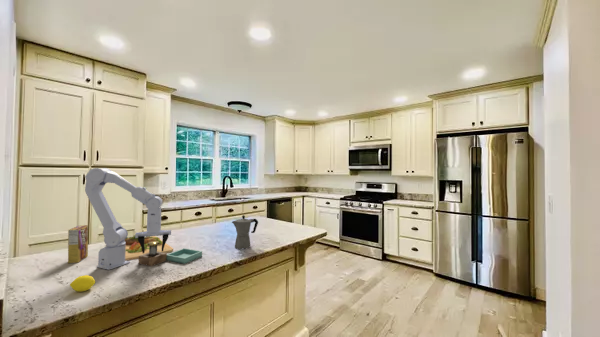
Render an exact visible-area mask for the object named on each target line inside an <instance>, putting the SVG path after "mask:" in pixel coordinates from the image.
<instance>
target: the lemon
mask: <svg viewBox="0 0 600 337" xmlns="http://www.w3.org/2000/svg"><path fill="white" fill-rule="evenodd" d="M95 283H96V280H95V279H94V277H93V276H91V275H88V274H85V275H80V276H77V277H76V278H75V279H74V280H72V281H71V282H70V283H69V286H70V288H72V289H73V290H74V291H75V292H81V293H82V292H83V293H84V292H86V291H88V290H90V289H91V288H92V287H93V286H94V285H95Z"/></svg>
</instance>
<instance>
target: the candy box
mask: <svg viewBox="0 0 600 337" xmlns="http://www.w3.org/2000/svg"><path fill="white" fill-rule="evenodd" d="M88 226H89V225H85V224H83V225H76V226H75V227H72V228H70V229H68V230H67V233H68V235H67V236H68V237H67V240H68V243H67V257H68V258H67V263H68V264H76V263H77V264H78V263H80V262H81V261H83V260H84V259H86V258H87V257H89V256H88V255H89V253H88V252H89V250H88V249H89V239H88V238H89V235H88V233H89V232H88V230H89V229H88V228H89V227H88Z"/></svg>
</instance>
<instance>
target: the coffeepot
mask: <svg viewBox="0 0 600 337" xmlns="http://www.w3.org/2000/svg"><path fill="white" fill-rule="evenodd" d="M241 217H242V218H239V219H236V220H232V222H231V224H233V226H234V227H235V230H236V231H235V232H236V238H235V244H234V248H235V249H237V248H238V249H237V250H243V249H242V248H247V249H249V248H251V239H250V230H251V226H252V225H251V224H252V223H254V226H253V230H252V231H251V234H254V233H255V232H256V230H257V227H258V225H259V221H258V219H256V218H250V219H247V218H246V216H245V214H244V215H241ZM248 247H249V248H248Z"/></svg>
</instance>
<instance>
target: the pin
mask: <svg viewBox="0 0 600 337" xmlns="http://www.w3.org/2000/svg"><path fill="white" fill-rule="evenodd" d="M158 244H159V242H158V241H154V242H149V243H147V245H149V256H151V257H153V256H156V255H157V245H158Z"/></svg>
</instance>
